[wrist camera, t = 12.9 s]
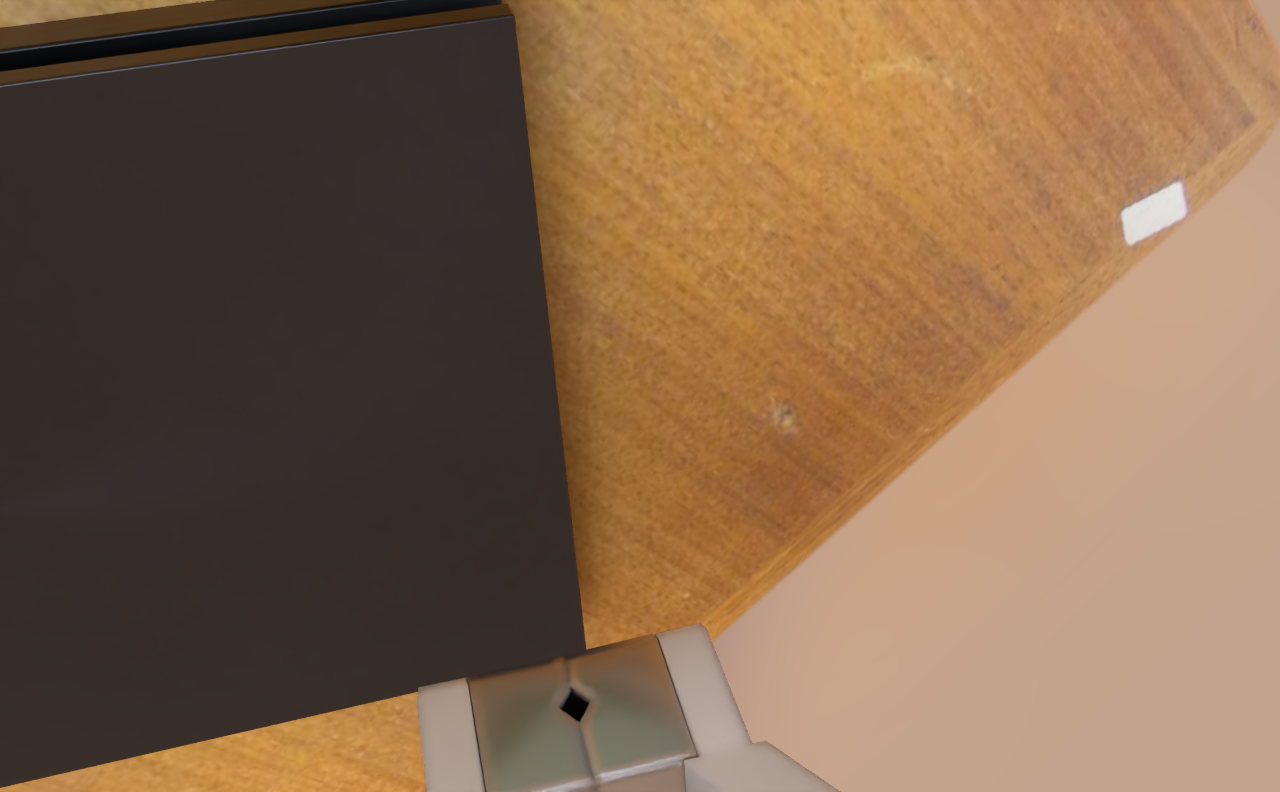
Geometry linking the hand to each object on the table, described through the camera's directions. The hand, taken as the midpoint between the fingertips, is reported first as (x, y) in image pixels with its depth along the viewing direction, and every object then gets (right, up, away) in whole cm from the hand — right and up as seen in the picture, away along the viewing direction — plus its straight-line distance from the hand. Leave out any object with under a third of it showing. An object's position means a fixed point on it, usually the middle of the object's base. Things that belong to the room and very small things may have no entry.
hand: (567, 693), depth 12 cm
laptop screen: (-16, +1, +19) cm, 25 cm away
